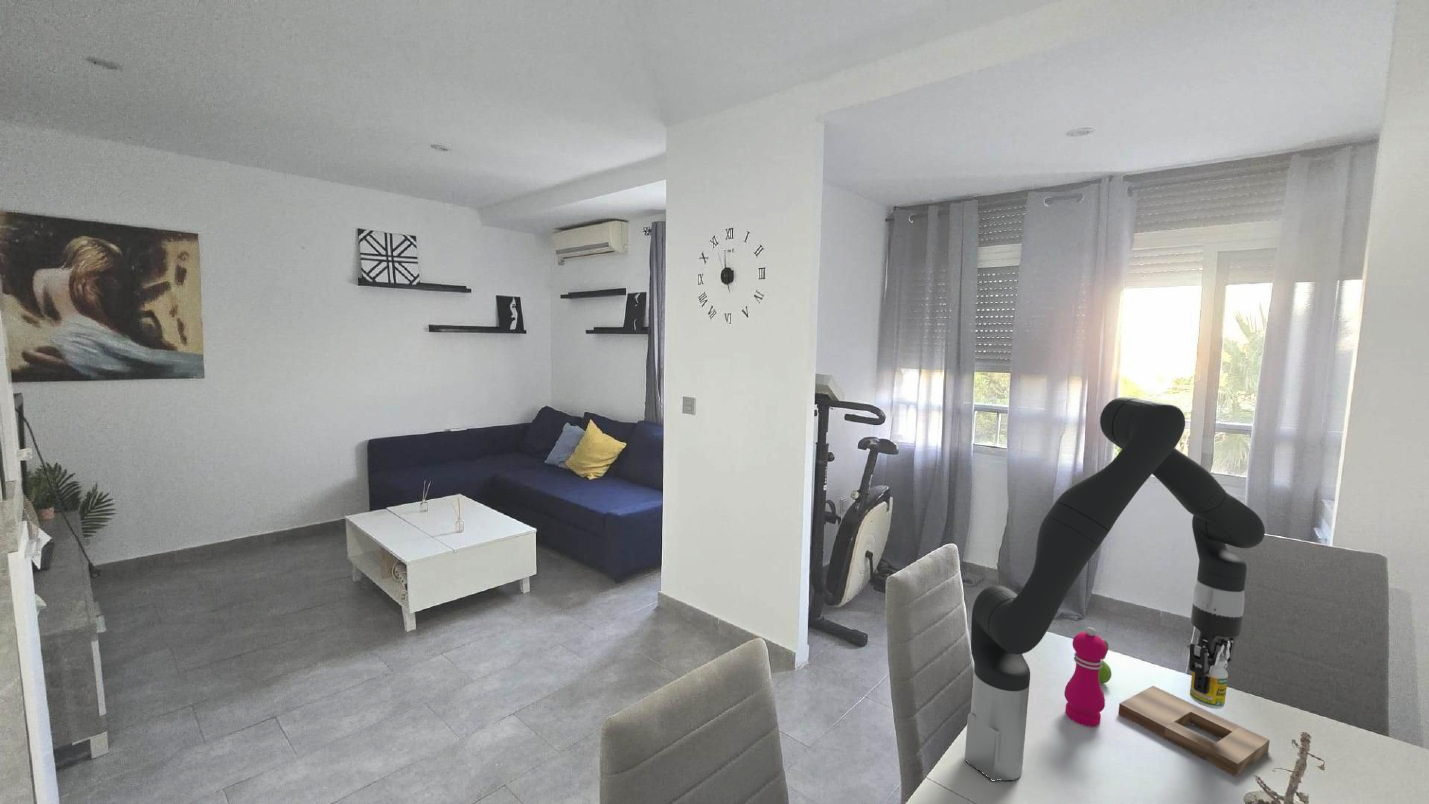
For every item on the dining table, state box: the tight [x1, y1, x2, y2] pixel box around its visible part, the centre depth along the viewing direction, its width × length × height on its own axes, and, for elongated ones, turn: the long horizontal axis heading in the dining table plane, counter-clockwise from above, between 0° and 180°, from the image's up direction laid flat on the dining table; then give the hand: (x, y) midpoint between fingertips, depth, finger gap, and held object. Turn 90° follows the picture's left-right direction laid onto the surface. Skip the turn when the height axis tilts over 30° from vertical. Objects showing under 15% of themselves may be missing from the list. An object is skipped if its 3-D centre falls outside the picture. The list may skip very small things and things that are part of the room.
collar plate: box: [1118, 685, 1270, 777], centre depth 119 cm, size 14×20×2 cm
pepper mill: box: [1064, 626, 1108, 728], centre depth 122 cm, size 7×7×20 cm
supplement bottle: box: [1189, 656, 1229, 710], centre depth 116 cm, size 5×5×10 cm
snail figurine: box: [1099, 638, 1112, 685], centre depth 136 cm, size 5×6×12 cm
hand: (1208, 687), depth 116 cm, fingers closed on supplement bottle, 5 cm apart
